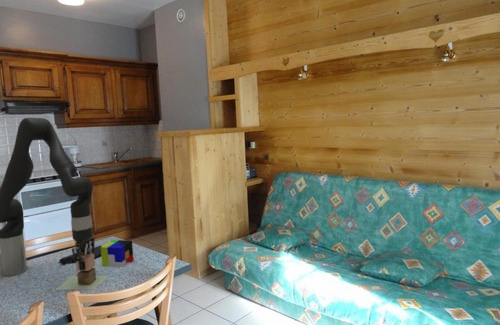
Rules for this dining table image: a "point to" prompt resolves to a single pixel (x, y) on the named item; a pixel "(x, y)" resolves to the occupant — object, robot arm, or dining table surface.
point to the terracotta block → (87, 262)
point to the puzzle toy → (117, 253)
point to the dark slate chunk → (71, 258)
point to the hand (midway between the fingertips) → (85, 266)
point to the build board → (73, 284)
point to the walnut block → (86, 277)
